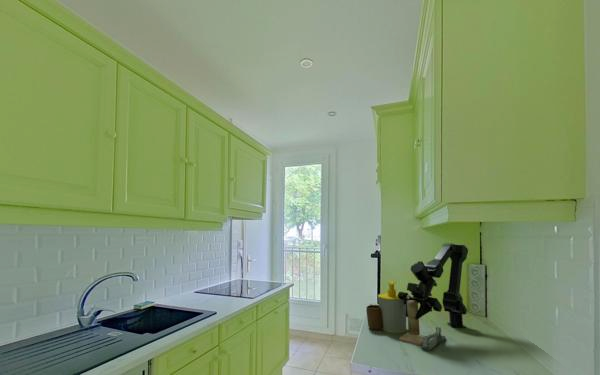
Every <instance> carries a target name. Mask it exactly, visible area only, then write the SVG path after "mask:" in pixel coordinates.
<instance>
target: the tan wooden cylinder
mask: <svg viewBox="0 0 600 375" xmlns="http://www.w3.org/2000/svg"><path fill="white" fill-rule="evenodd" d="M418 310H419V303H418V301H413V300H408V301H407V313H408V317H407V325H408V326H407V328H408V332H409V334H410V335H421V334H420V333H421V332H420V318H419V319H418V320H416V318H415V317H416V314H417V312H418Z"/></svg>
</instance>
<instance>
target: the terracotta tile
mask: <svg viewBox="0 0 600 375" xmlns="http://www.w3.org/2000/svg"><path fill="white" fill-rule="evenodd" d="M424 336H425V335H421V334H420V335H410V334H409V331H408V332H406V333H405V334H403V335H401V336H400V337H399V341H402V342H406V343H411V344H413V345H414V344H415V345H419V346H423V338H422V337H424Z"/></svg>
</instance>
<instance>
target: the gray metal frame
mask: <svg viewBox="0 0 600 375" xmlns="http://www.w3.org/2000/svg"><path fill="white" fill-rule="evenodd" d="M423 336H424V337H422V338H423V344H422V347H421V350H422V351H423V352H429V353H432V352H433V351H434V350H435V349H436V348H438V346H439V345H441V344H442V343H443V342H444V341H445V340H446V335H445V336H444V335H442V327H440V326H436V327H435V332H433V333H432V334H431V333H430V334H428V335H423Z"/></svg>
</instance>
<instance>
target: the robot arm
mask: <svg viewBox="0 0 600 375" xmlns="http://www.w3.org/2000/svg"><path fill="white" fill-rule="evenodd" d="M468 253H469V249H468V247H467V246H466V245H465V244H455V243H451V242H450V243H447V242H445V243H442V247H441V248H440V249H439V251H438V253H436V256H435V257H434V258H433V259H432V260H430V261H427V262H426V263H425V264H424V262H423V261H422V260H419V261H417V263H416V262H415V263H414V264H413V265H411V267H410V272H411V273H412V274H413V276H414V277H415V279H417V281H419V283H413V282H407V286H406V290H407V291H409V292H410V294H411V295H409V293H408V292H406V291H405V292H404V291H399V292H398V293H397V294H398V295H397V296H398V298H399V299H401V300H404V301H405V302H404V304H406V318H408V313H407V301H408V300H413V301H418V304H419V307H418V312H417V314H416V317H415V318H416V320H418V319H419V320H420V319H421V318H422V317H424V316H425V315H427V314H429V313H430V312H433V311H435V312H442V309H443V310H444V312H448V316H449V317H448V318H449V322H447V323H446V324H447V325H448V326H450V327H452V328H467V325H465V324H464V321H463V320H464V319H463V315H466V314H467V311H468V309H467V307H466V305H465V303H464V299H463V296H462V294H461V292H460V290H461V282H462V269H463V263H464V262H465V261H466V260H467V256H468ZM449 258H450V261H451V262H450V270H449V281H448V289H447V290H446V291H444V292H443V295H442V301H441V302H442V304H441V302H440V301H439V299H438V298H437V297H432V295H433V294H432V291H433V288H434V287H438V283H437V280H435V279H440V278H441V276H442V275H443V273H444V271H445V270H444V265H445V264H446V263H447V261H448V259H449ZM434 278H435V279H434Z"/></svg>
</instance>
